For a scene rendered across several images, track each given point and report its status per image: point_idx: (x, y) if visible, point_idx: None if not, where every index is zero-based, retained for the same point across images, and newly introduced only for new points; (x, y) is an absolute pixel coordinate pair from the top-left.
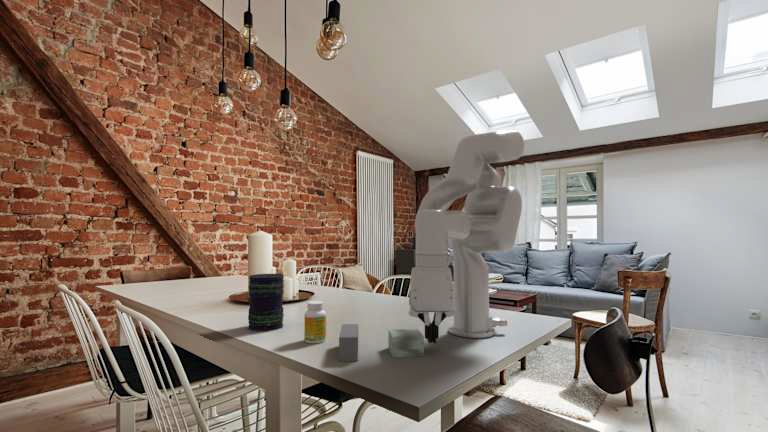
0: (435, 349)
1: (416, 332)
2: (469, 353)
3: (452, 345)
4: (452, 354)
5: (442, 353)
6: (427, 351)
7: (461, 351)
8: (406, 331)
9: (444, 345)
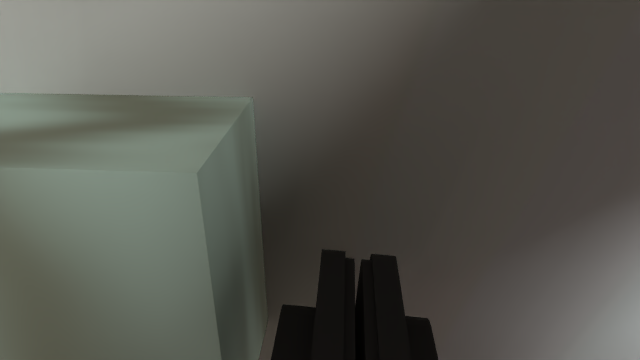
0: (404, 203)
1: (171, 339)
2: (634, 331)
3: (632, 110)
4: (489, 329)
5: (422, 299)
6: (318, 240)
7: (602, 282)
8: (46, 284)
9: (548, 97)
